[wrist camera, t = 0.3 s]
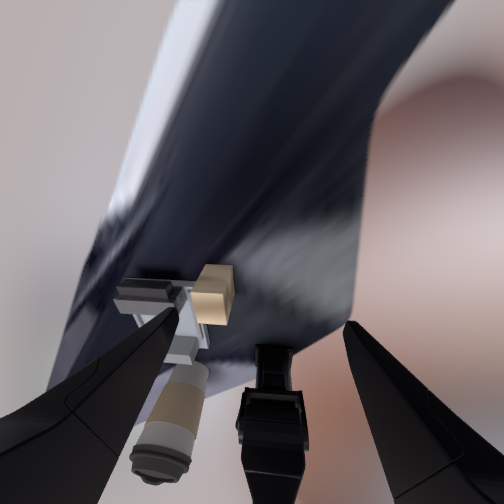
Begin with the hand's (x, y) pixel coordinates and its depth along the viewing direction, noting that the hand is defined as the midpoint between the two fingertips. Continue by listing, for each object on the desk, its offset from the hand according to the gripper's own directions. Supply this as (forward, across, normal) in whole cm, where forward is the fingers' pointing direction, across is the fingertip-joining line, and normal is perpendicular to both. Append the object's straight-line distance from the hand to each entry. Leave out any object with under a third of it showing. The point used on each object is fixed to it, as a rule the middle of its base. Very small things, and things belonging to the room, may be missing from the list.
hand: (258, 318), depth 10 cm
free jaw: (+12, +15, +9) cm, 21 cm away
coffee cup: (+14, +14, +32) cm, 38 cm away
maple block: (+14, +6, +8) cm, 17 cm away
